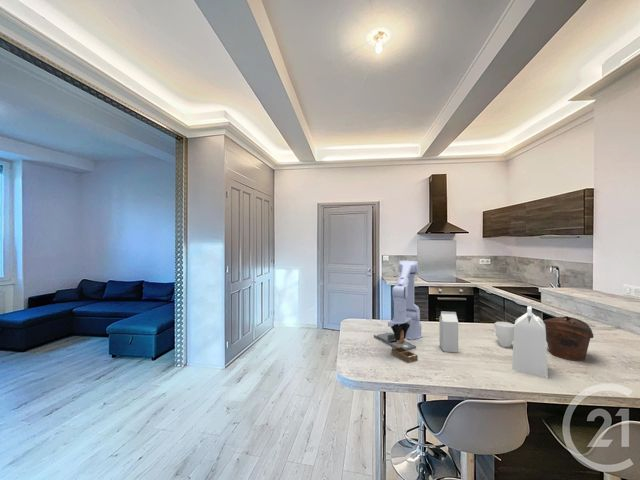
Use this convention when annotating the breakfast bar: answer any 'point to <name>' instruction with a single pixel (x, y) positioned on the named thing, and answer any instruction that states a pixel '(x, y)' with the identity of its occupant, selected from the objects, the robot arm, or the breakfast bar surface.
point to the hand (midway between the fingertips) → (400, 339)
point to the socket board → (404, 354)
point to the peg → (401, 337)
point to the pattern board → (395, 344)
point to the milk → (530, 345)
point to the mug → (504, 333)
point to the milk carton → (448, 331)
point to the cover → (387, 337)
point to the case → (568, 337)
